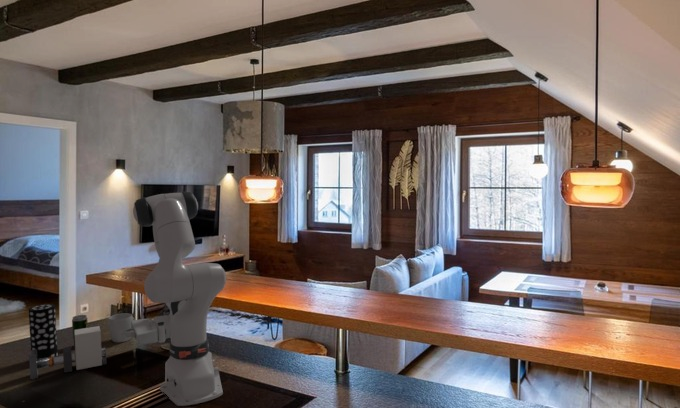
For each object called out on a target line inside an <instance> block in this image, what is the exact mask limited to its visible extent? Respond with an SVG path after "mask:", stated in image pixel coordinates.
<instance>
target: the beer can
mask: <svg viewBox="0 0 680 408" xmlns="http://www.w3.org/2000/svg"><path fill="white" fill-rule="evenodd" d="M71 325H72V326H71V328H72V329H71V330H72V344H73V347H74V348H75V331H74V330H77V329H83V328H89V327H88V326H89V325H88V317H87V315H86V314H80V315H79V314H78V315H75V316H73V317H72V319H71Z"/></svg>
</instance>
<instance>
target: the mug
mask: <svg viewBox="0 0 680 408" xmlns="http://www.w3.org/2000/svg"><path fill="white" fill-rule="evenodd" d="M133 320H136V319H135V317H133V314H132V313H128V312H127V313H116V314H113V315H111V316H109V317H108V329H109V330H108V332H109V335H110V336H109V337H110V339H111V341H112V342H113V343H118V344H119V343H125V342H127V341H130V339H131V337H124V338H121V336H120V331H123V330H126V329H129V328H131V321H133Z"/></svg>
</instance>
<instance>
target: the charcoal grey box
mask: <svg viewBox="0 0 680 408" xmlns="http://www.w3.org/2000/svg"><path fill="white" fill-rule="evenodd" d="M62 347H63V348H62V349H63V350H62V351H63V352H62V355H63V359H64V364H63V373H64V374H65V373H70V372H73V362H72V357H71V354H72V345H71V344H70V345H63V346H62Z"/></svg>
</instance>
